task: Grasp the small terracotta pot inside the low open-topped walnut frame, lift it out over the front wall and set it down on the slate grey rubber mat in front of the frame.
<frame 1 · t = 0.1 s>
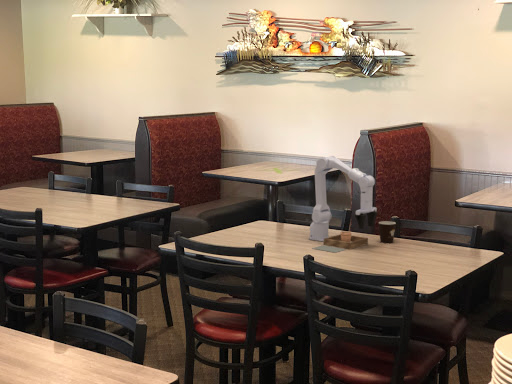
hand: (365, 227, 337), 10 cm above the table, tool pointing down, fingers open, 7 cm apart
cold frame: (345, 244, 345), on the table
terracotta pot: (345, 238, 345), in the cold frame
coffee mug: (389, 242, 350), on the table
rubber mat: (328, 249, 334), on the table
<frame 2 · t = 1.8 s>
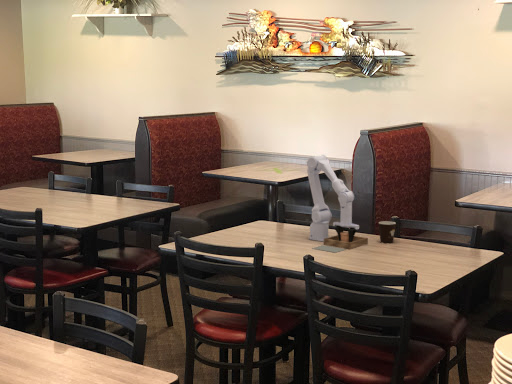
hand: (345, 241, 345), 1 cm above the table, tool pointing down, fingers closed on terracotta pot, 5 cm apart
terracotta pot: (345, 238, 345), in the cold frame, touching gripper
everything else where it was.
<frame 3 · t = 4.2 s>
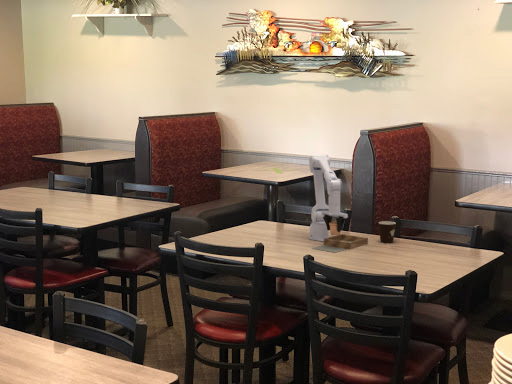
hand: (334, 230, 336), 8 cm above the table, tool pointing down, fingers closed on terracotta pot, 5 cm apart
terracotta pot: (335, 228, 336), point 10 cm above the table, tilted 6°, touching gripper
everything else where it was.
when the fingers open (3 cm above the table, at t = 6.5 s): terracotta pot drops 1 cm, resting on rubber mat.
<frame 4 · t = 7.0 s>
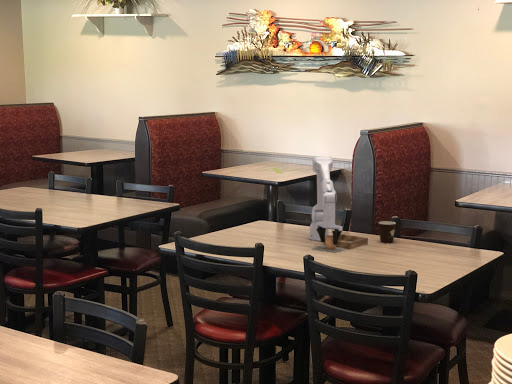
hand: (329, 243, 334), 3 cm above the table, tool pointing down, fingers open, 7 cm apart
terracotta pot: (330, 242, 335), resting on rubber mat
everything else where it was.
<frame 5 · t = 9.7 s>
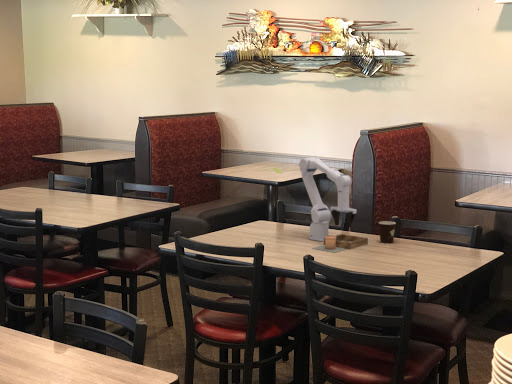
hand: (343, 226, 344), 9 cm above the table, tool pointing down, fingers open, 7 cm apart
nothing on the table moved.
at the end: terracotta pot inside the target area (1.0 cm from its centre), resting on rubber mat; terracotta pot tilted 1°; the gripper is holding nothing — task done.
